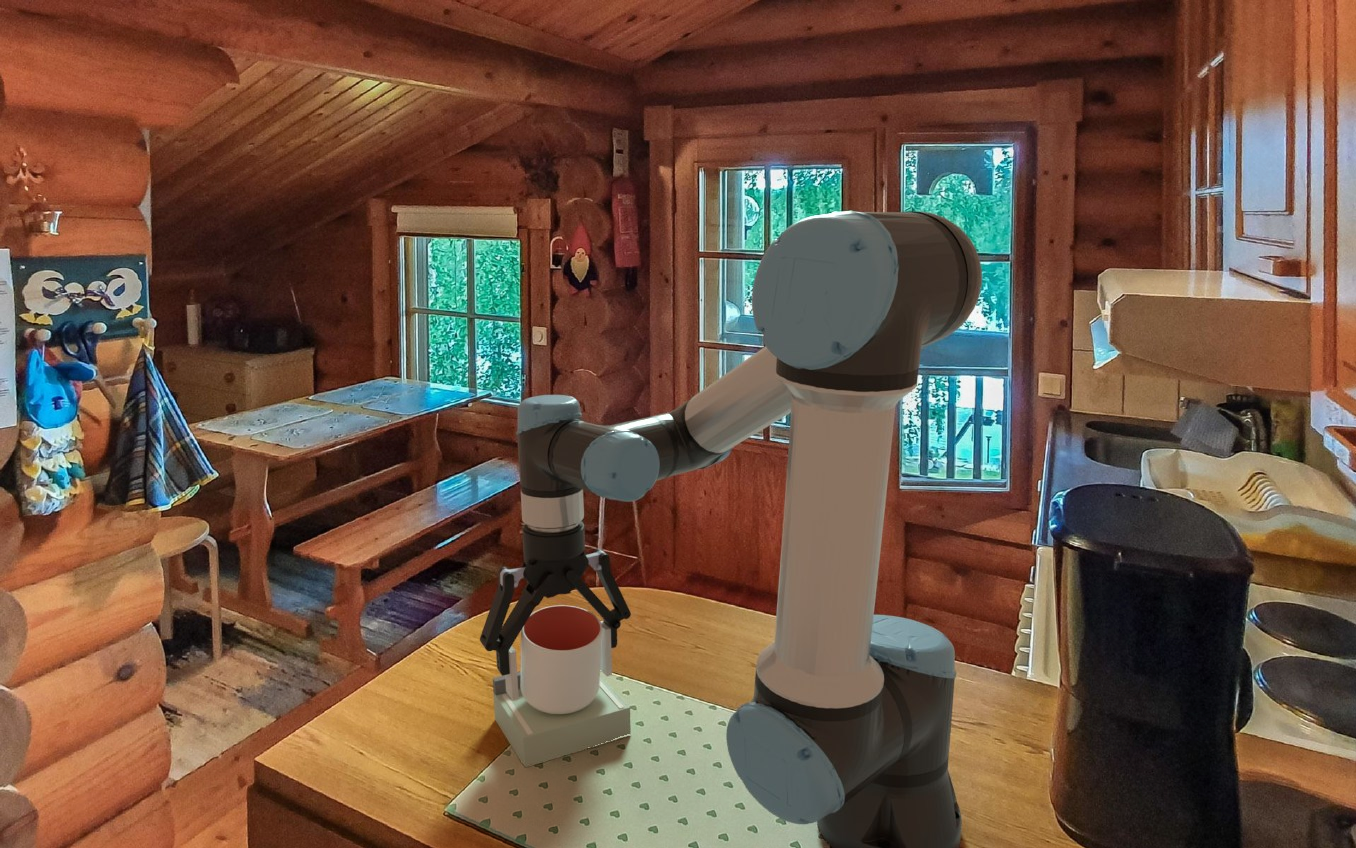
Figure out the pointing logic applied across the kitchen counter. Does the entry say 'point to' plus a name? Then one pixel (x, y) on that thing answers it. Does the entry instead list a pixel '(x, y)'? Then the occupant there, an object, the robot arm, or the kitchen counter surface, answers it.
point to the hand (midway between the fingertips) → (559, 683)
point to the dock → (558, 724)
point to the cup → (560, 659)
